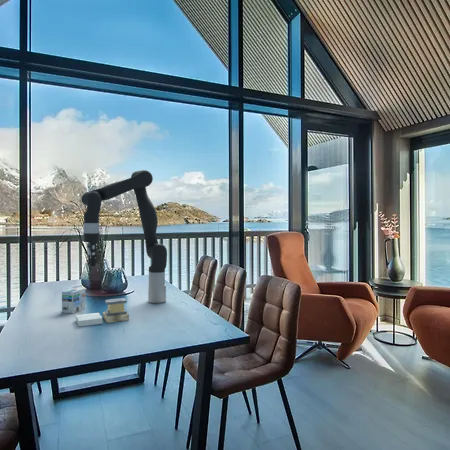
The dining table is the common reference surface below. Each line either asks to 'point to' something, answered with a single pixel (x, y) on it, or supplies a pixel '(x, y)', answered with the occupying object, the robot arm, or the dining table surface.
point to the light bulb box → (73, 300)
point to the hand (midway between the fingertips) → (91, 264)
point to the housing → (115, 306)
